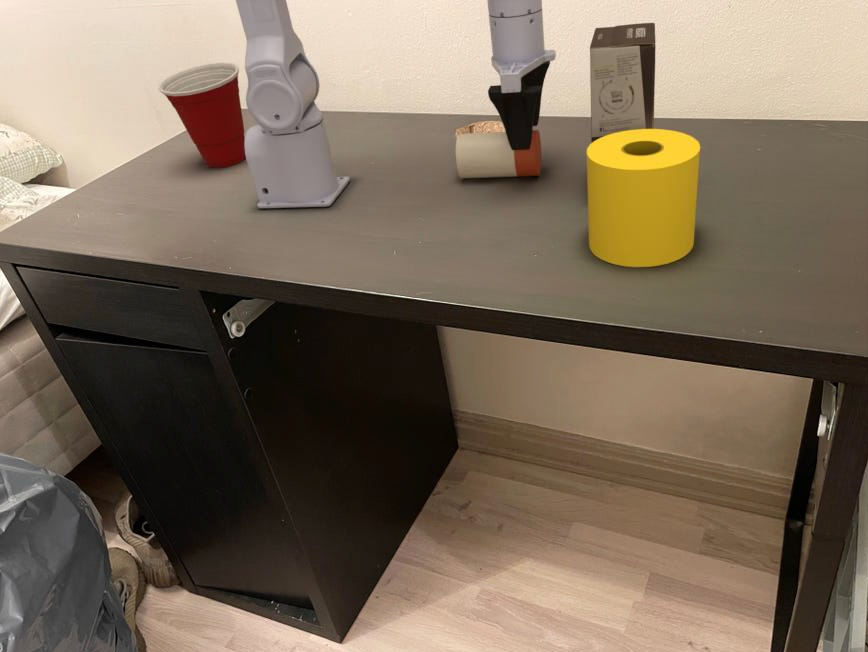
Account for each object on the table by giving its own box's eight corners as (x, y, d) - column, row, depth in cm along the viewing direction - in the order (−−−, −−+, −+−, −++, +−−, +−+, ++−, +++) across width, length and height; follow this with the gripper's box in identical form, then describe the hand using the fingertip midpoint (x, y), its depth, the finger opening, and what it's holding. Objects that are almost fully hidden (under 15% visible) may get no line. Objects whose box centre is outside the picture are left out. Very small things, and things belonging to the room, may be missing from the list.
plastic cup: (171, 174, 103) (138, 86, 96) (219, 145, 111) (192, 62, 104) (232, 177, 99) (203, 86, 92) (278, 148, 107) (254, 62, 100)
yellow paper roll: (691, 269, 67) (697, 169, 61) (581, 265, 70) (578, 169, 64) (696, 220, 75) (702, 128, 69) (597, 218, 77) (595, 129, 72)
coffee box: (651, 201, 79) (655, 42, 70) (591, 202, 81) (587, 47, 71) (652, 168, 86) (656, 20, 77) (597, 169, 88) (594, 24, 78)
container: (467, 168, 93) (542, 165, 91) (459, 185, 89) (537, 182, 87) (462, 127, 90) (539, 123, 88) (453, 143, 86) (534, 139, 84)
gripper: (545, 24, 72) (553, 158, 80) (559, -6, 83) (564, 114, 91) (475, 30, 73) (489, 161, 81) (497, -1, 85) (508, 117, 93)
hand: (525, 136), depth 86 cm, fingers open, 7 cm apart
